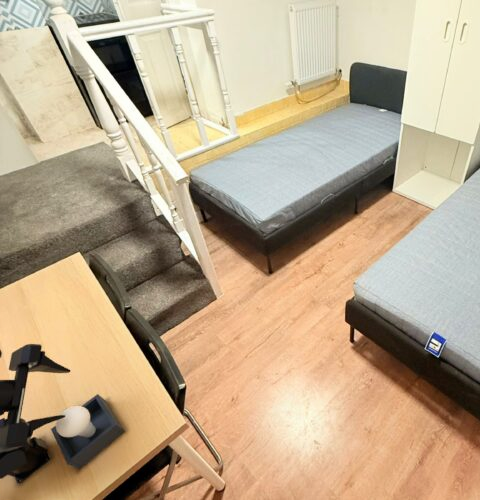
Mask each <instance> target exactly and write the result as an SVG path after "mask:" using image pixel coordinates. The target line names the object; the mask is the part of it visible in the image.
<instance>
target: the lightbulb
mask: <svg viewBox="0 0 480 500" xmlns="http://www.w3.org/2000/svg"><path fill="white" fill-rule="evenodd" d="M81 406H82V405H73V406H71V407H68V408H66V409H65V410H63V411H62V412H61V413H60V414H59V415H65V417H64V418H62V419H59V420H56V421H55V426H56V430H57V432H58V433H59V434H60V435H61V436H63V437H73V436H77V435H79V436H83V437H86V438H89V437H91V436H93V435H94V433H95V432H96V428H95V426H93V424H92V423H91V422H90V413H89V411H88V410H87V409H86V408H84V407H81Z"/></svg>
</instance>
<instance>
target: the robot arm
mask: <svg viewBox="0 0 480 500" xmlns="http://www.w3.org/2000/svg"><path fill="white" fill-rule="evenodd" d="M42 347H43V346H42V344H38V343H27V344H25V345H23V346H21V347H19V348H17V349H16V350H14V351H13V352H11V354H10V361H9V366H8V371H11V372H15V374H14V378H13V379H0V416H3V415H5V413H7V417H6V418H5V417H3V418H0V480H2V479H4V478H5V477H7V476H10V477H12V478H13V477H14V479H15V482H16V484H19V485H20V484H22V483H23V482H25V481H26V480H27V479H29V477H31V476H32V475H34V473H36V472H37V471H38V470H40V469H41V468H42V467H44V465H46V464H47V463H48V462H50V460H51V456H50V453H49V447H48V445H47V443H46V441H44V440H43V439H42V438H38V437H36V436H33V435H34V431H36V430H38V429H40V428H41V427H44V426H45V425H48V424H51V423H53V422H56V421H57V420H59V419H62V418H64V417H65V415H60V414H59V415H58V414H57V415H53V416H46V417H41V418H35V419H31V420H29V421H26V420H25V418H22V416H21V415H22V411H23V406H24V399H25V396H26V395H25V394H26V393H25V392H26V388H27V383H28V376H29V373H49V374H50V373H52V374H69V373H71V369H70V368H67V367H65V366H63V365H61V364H60V363H57V362H55V361H54V360H53V359H51V358H49V357H48V356H47V355H46V351H45V350H42ZM2 355H3V352H2V350H1V349H0V359H1V358H2Z"/></svg>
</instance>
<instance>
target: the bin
mask: <svg viewBox="0 0 480 500" xmlns="http://www.w3.org/2000/svg"><path fill="white" fill-rule="evenodd" d="M80 406H81V407H84V408H86V409H87V410H88V411H89V413H90V422H91V423H92V424H93V426H95V428H96V432H95V433H94V435H93V436H91V437H89V438H86V437H83V436H79V435H77V436H73V437H63V436H61V435H60V434H59V433H58V432H57V430H56V425H54V426H53V427H51V428H50V430H51V433H52V435H53V437H54V439H55V441H56V444H57V445H58V448H59V449H60V452H61V454H62V456H63V458H64V460H65V462H66V464H67V465H68V466H70V467H72V468H74V469H75V470H78V471H81V470H82V469H83V468H84V467H85V466H86V465H88V463H90V462H91V461H92V460H93V459H94V458H96V457H97V456H98V455H99V454H100V453H101V452H103V451H104V450H105V449H107V447H109V446H110V445H111V444H112V443H113V442H115V441H116V440H117V439H118V438H119V437H121V436H122V435H123V434H124V433H125V432H126V430H125V428H124V427H123V425H122V423H121V422H120V420H119V419H118V417H117V415H116V414H115V412H114V410H113V408H111V406H110V404H109V403H108V401H107V400H106V399H104V397H102V396H101V395H99V394H98V393H96V394H95V395H94V396H92V397H91V398H90V399H89V400H88V401H86V402H85V403H83V404H82V405H80Z"/></svg>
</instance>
